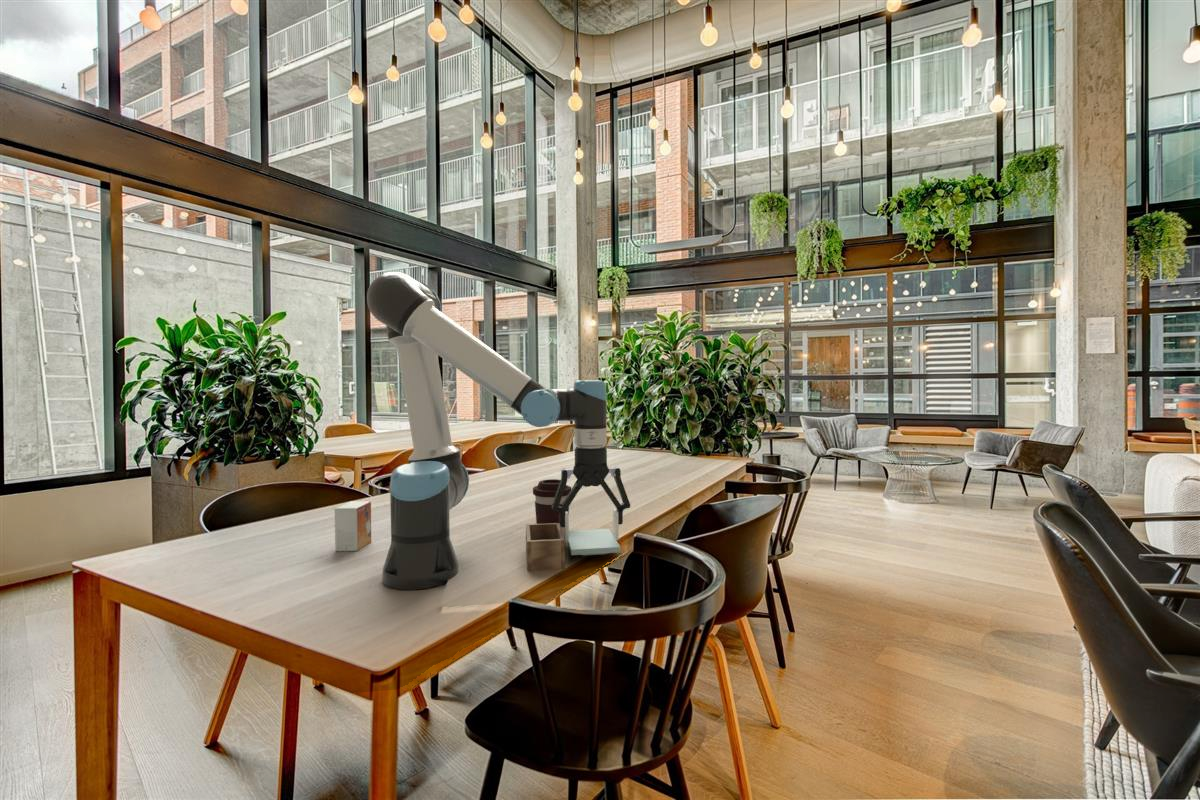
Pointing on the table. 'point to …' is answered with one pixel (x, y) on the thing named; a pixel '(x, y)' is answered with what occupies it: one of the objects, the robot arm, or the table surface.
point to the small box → (352, 526)
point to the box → (545, 547)
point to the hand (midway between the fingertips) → (591, 539)
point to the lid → (592, 542)
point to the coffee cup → (548, 501)
